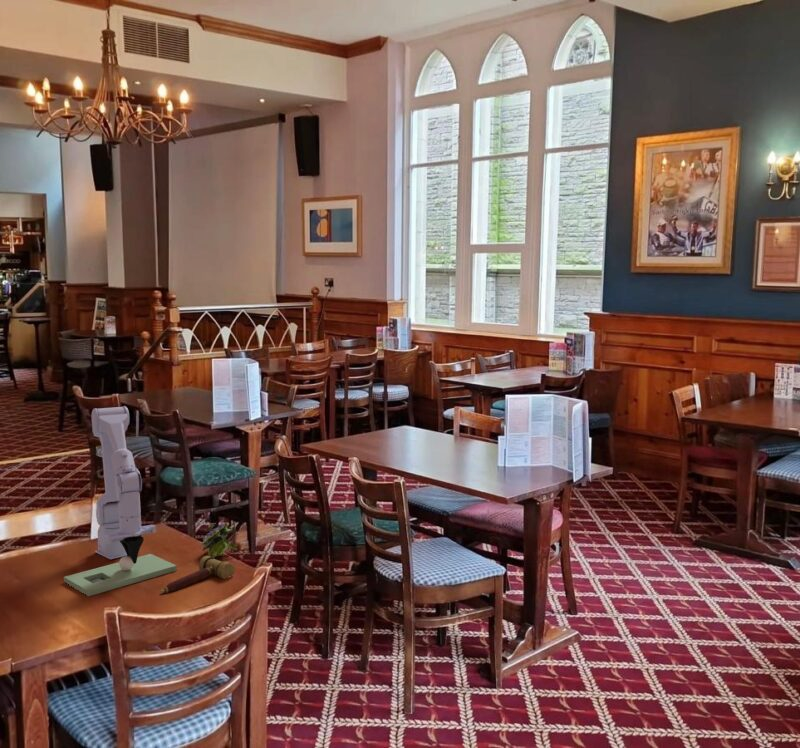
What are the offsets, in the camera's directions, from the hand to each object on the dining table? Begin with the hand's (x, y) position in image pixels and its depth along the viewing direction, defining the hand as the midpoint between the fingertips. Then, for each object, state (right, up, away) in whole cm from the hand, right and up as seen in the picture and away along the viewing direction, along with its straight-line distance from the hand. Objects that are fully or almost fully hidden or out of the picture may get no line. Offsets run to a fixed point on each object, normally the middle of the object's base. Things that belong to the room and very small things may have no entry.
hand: (132, 563), depth 229 cm
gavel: (+18, -5, -5) cm, 19 cm away
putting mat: (-3, -3, -1) cm, 4 cm away
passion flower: (+21, -2, +18) cm, 27 cm away
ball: (-1, 0, -1) cm, 2 cm away
